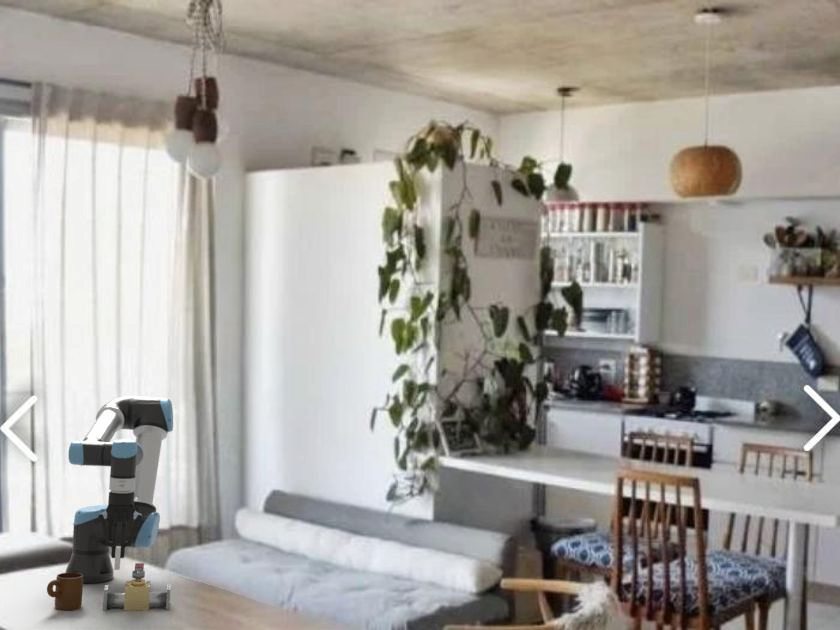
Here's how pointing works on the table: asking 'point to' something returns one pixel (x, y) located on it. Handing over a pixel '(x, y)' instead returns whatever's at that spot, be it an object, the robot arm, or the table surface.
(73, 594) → the mug
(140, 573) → the lever
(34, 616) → the table surface
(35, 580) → the table surface
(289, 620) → the table surface
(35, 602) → the table surface
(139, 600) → the valve pipe
